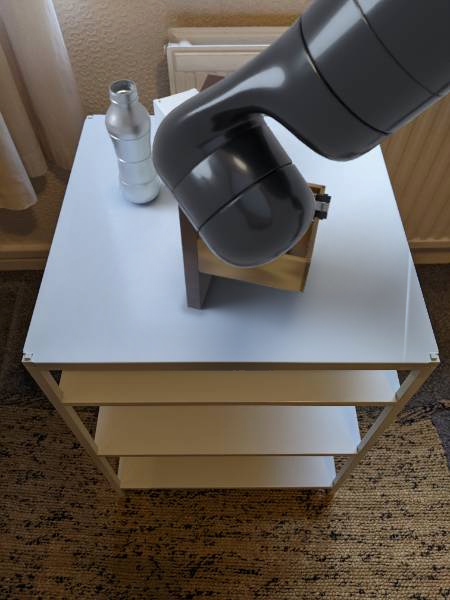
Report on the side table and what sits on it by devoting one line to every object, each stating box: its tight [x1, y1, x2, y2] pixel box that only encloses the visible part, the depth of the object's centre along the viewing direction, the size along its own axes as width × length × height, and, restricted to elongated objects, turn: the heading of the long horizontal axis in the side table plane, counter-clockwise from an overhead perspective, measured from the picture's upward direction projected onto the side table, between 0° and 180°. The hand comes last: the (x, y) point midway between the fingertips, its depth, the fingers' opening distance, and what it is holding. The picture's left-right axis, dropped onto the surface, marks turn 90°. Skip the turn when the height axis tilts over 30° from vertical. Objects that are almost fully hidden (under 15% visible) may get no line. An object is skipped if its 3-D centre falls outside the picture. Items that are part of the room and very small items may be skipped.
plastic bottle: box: [104, 78, 161, 205], centre depth 77 cm, size 6×7×20 cm
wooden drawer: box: [177, 73, 327, 310], centre depth 63 cm, size 16×13×28 cm
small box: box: [152, 87, 200, 132], centre depth 87 cm, size 8×6×10 cm
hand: (273, 199), depth 63 cm, fingers closed on hat, 4 cm apart
